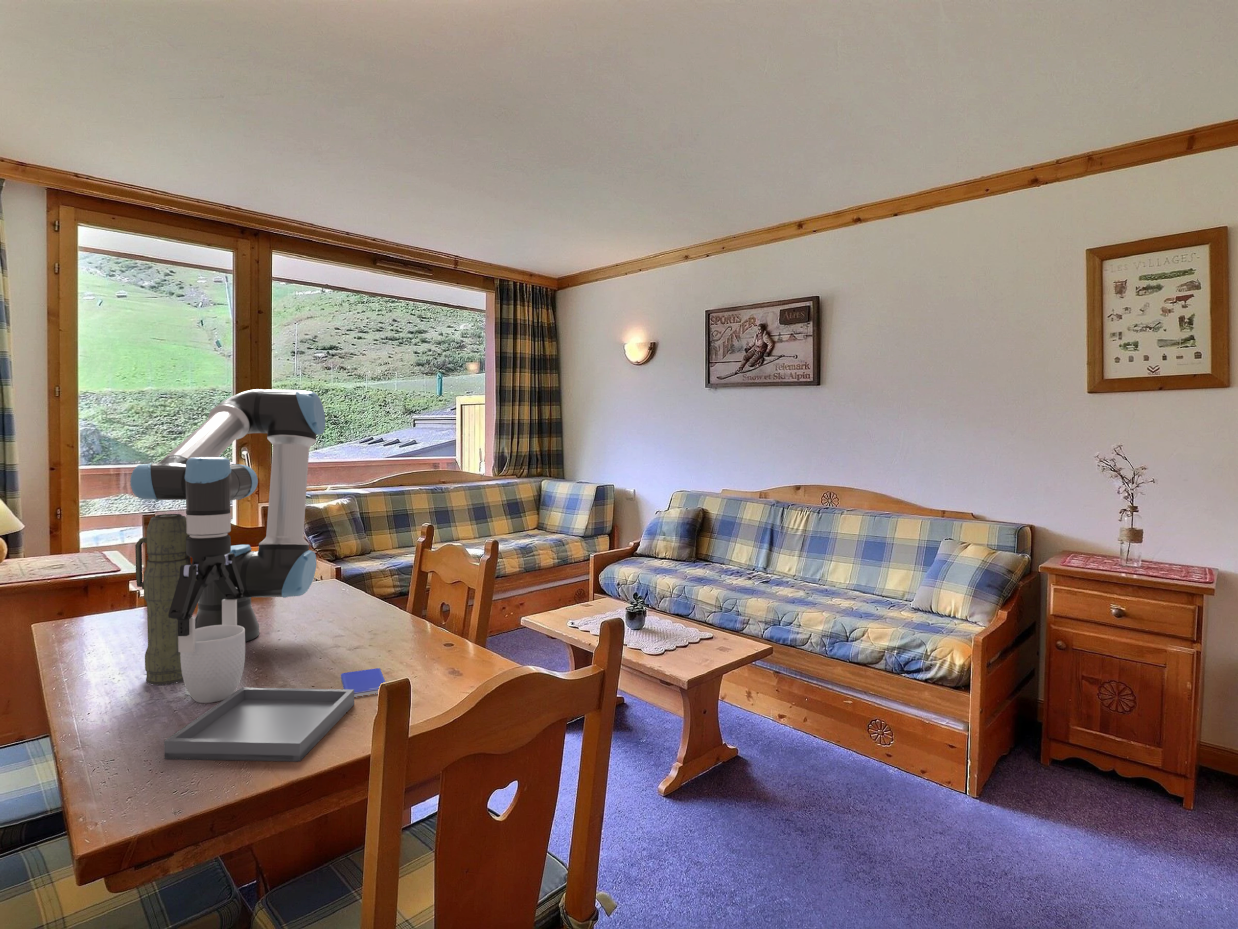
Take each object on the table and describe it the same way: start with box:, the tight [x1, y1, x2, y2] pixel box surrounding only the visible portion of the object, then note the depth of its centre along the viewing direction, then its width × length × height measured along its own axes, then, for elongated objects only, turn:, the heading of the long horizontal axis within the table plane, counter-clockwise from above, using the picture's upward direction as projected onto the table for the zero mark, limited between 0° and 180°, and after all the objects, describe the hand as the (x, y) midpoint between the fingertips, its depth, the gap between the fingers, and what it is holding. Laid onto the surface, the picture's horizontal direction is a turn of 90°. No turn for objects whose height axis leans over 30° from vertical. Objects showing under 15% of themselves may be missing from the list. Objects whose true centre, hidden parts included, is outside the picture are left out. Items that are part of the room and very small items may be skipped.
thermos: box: [134, 513, 197, 686], centre depth 139 cm, size 9×12×35 cm
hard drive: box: [340, 667, 386, 698], centre depth 138 cm, size 2×8×12 cm
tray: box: [163, 687, 355, 762], centre depth 117 cm, size 22×22×3 cm
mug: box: [180, 625, 246, 704], centre depth 131 cm, size 15×11×13 cm
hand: (209, 640), depth 130 cm, fingers open, 13 cm apart
